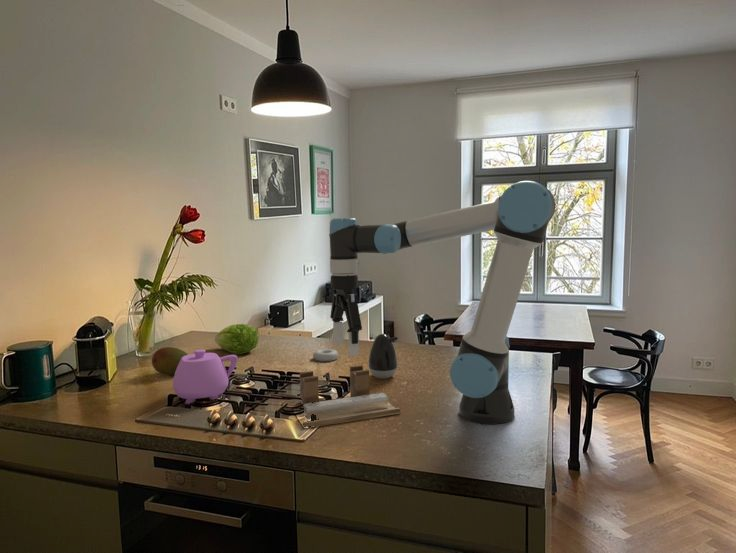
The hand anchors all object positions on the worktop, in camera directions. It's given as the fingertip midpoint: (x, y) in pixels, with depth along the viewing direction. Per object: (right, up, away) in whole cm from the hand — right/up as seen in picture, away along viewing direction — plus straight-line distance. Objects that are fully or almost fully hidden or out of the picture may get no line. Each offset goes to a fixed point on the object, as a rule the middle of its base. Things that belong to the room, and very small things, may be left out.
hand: (345, 349), depth 147 cm
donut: (-11, -13, +61) cm, 63 cm away
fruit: (-65, -15, +43) cm, 79 cm away
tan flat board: (0, -18, +2) cm, 19 cm away
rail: (0, -18, +2) cm, 18 cm away
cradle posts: (-4, -17, +12) cm, 22 cm away
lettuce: (-50, -11, +75) cm, 91 cm away
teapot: (-45, -17, +20) cm, 52 cm away
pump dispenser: (+12, -15, +36) cm, 41 cm away
